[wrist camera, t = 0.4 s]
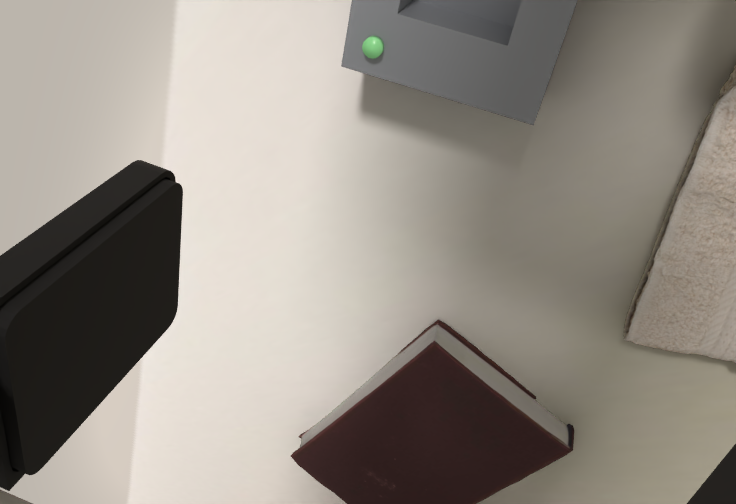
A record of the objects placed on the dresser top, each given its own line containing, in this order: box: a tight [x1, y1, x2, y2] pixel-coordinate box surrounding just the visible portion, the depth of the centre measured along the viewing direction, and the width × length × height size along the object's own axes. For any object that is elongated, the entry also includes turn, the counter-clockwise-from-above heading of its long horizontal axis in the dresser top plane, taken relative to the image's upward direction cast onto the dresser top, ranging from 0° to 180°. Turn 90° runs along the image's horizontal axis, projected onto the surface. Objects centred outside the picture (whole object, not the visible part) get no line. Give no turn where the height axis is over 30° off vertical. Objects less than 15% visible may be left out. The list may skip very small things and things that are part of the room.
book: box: [291, 320, 574, 504], centre depth 52 cm, size 12×19×3 cm, turn 144°
